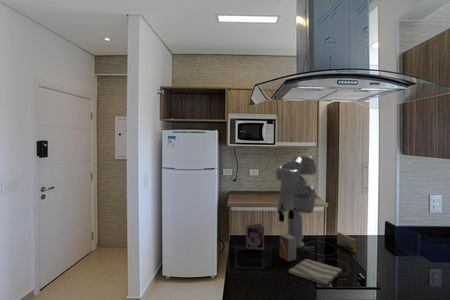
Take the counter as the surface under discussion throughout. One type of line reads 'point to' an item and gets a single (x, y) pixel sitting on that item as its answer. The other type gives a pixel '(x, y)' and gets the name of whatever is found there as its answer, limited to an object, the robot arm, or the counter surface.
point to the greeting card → (255, 236)
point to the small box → (287, 247)
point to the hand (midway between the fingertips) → (286, 220)
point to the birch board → (315, 271)
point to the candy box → (346, 242)
